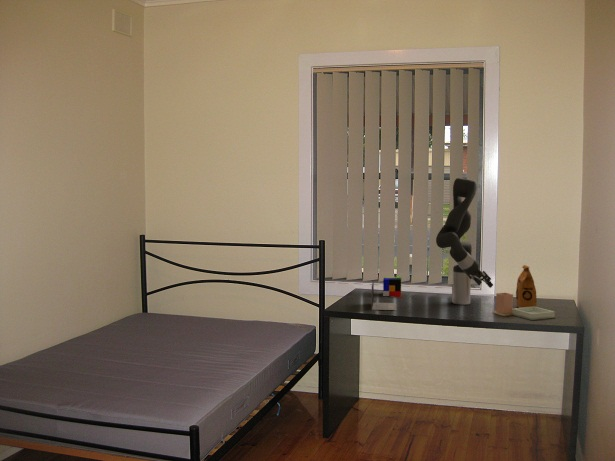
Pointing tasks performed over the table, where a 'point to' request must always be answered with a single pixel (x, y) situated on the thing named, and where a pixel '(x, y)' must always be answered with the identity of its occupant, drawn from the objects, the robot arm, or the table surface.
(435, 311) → the table surface
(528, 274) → the coffee package
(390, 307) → the laptop
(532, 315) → the tray
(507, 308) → the pink rounded block
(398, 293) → the puzzle toy
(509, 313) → the candle holder
